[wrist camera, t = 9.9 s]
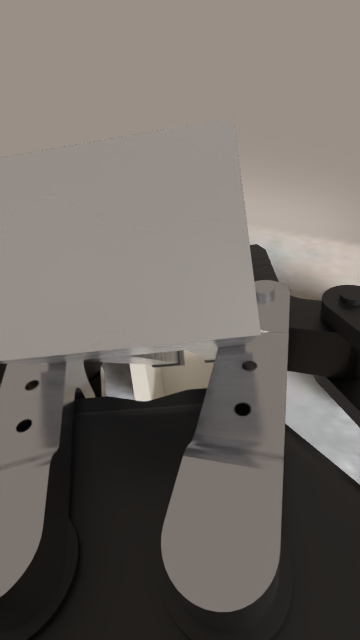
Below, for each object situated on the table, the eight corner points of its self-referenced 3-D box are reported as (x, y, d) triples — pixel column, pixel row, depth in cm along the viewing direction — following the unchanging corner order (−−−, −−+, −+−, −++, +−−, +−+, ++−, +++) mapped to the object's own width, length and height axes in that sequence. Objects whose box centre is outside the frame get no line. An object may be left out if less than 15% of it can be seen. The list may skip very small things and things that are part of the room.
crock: (157, 409, 28) (138, 421, 21) (140, 303, 29) (117, 284, 23) (267, 390, 27) (282, 397, 20) (244, 282, 28) (251, 257, 22)
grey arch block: (159, 367, 19) (-21, 362, 5) (155, 310, 19) (-20, 160, 5) (232, 360, 18) (260, 335, 4) (226, 302, 19) (233, 116, 5)
